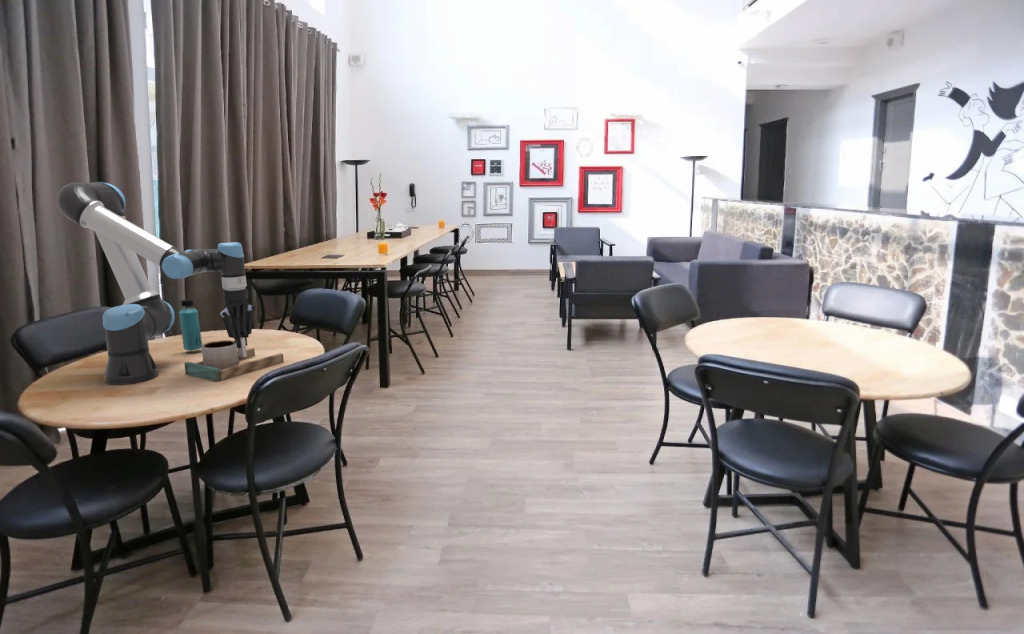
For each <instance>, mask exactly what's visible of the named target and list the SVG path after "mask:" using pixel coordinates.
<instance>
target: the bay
mask: <svg viewBox="0 0 1024 634" xmlns="http://www.w3.org/2000/svg"><path fill="white" fill-rule="evenodd" d="M255 351H256V350H255V348H254V347H250V348H246V352H247V356H246V357H240V356H238V360H239V362H240V361H244V360H248V359H251V358H254V357H253V356H255V357H256V352H255ZM250 357H251V358H250ZM247 358H248V359H247ZM243 359H244V360H243ZM284 360H285V359H284V353H281V352H280V353H276V354H272V355H269V356H265V357H262V358H258V359H255V360H251V361H247V362H243V363H241V364H240V363H239V365H237V366H233V367H230V368H226V369H222V370H220V368H216V367H211V366H207V365H203V360H200V361H197V362H192V361H185V362H184V363H183V365H184V371H185V375H187V376H191V377H196V378H200V379H204V380H209V381H213V382H217V383H218V382H222V381H225V380H228V379H230V378H235V377H238V376H241V375H244V374H249V373H251V372H252V373H253V372H255V371H258V370H261V369H264V368H268V367H271V366H274V365H278V364H282V363H284Z"/></svg>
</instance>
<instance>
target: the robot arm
mask: <svg viewBox="0 0 1024 634" xmlns="http://www.w3.org/2000/svg"><path fill="white" fill-rule="evenodd" d="M126 203H127V202H126V198H125V196H124V194H123V192H122V191H121V190H120V189H119V187H117V186H115V185H114V184H111V183H108V182H102V181H94V182H93V181H92V182H71V183H68V184H66V185H64V186H62V187H61V188H60V190H59V191H58V192H57V196H56V205H57V208H58V210H59V212H60V214H62V215H63V216H64V218H65V217H66V218H67V219H68V220H69V221H71V222H73V223H75V224H76V225H78V226H80V227H82V228H83V229H90V230H92V231H94V233H95V235H96V237H97V239H98V241H99V243H100V246H101V248H102V250H103V253H104V254H105V258H106V259H107V261H108V263H109V265H110V268H111V271H112V272H113V274H114V277H115V279H116V281H117V283H118V286H119V287H120V288H119V289H120V290H121V292H122V295H123V297H124V301H123V304H121V305H117V306H113V307H111V308H109V309H106V310H105V311H104V313H103V314H102V327H103V331H104V338H105V343H106V344H105V345H106V350H107V351H106V352H107V363H106V367H105V373H104V381H105V383H106V384H110V385H128V384H136V383H141V382H146V381H148V380H152V379H154V378H155V377H157V376H158V375H159V368H158V366H157V363H156V362H155V360H154V358H153V357H152V354H151V353H150V348H149V340H151V339H153V338H155V337H158V336H161V335H163V334H164V333H166V332H168V331H169V330H170V329H171V328H172V326H174V323H175V318H176V315H175V311H174V308H173V307H172V305H171V304H169V303H168V302H166V301H165V300H163V299H162V298H161V297H162V296H161V295H160V293H159V292H157V291H155V290H153V289H152V287H151V285H150V282H149V280H148V277H147V275H146V273H145V271H144V269H143V266H142V264H141V261H140V259H139V257H138V255H139V256H141V257H143V258H144V259H146V260H148V261H150V262H151V263H152V264H154V265H157V266H158V267H160V268H162V271H163V273H164V274H165V276H167V277H168V278H170V279H174V280H179V279H180V280H181V279H185V278H188V277H190V276H195V275H198V274H201V273H202V274H203V273H207V272H209V273H211V272H220V275H221V283H222V284H221V285H222V289H224V290H223V291H222V292H223V300H224V303H225V305H224V309H223V310H222V311H219V312H218V315H219V317H220V318H221V319H222V321H223V324H224V328H225V330H226V332H227V333H226V334H227V336H228V338H232V339H233V340H234V341H235V342H236V343H237V352H238V356H240V357H246V356H247V352H246V349H247V346H248V338H249V337H250V335H251V334H252V333H253V331H252V330H253V323H254V322H253V321H254V313H255V311H256V305H255V306H254V305H251V304H250V303H249V301H248V299H249V291H248V288H247V286H248V284H247V276H246V268H245V267H246V266H245V255H244V249H243V246H242V243H240V242H237V241H236V242H235V241H233V242H231V241H230V242H221V243H218V245H217V248H213V249H211V248H210V249H209V248H207V249H205V248H204V249H203V248H201V249H198V248H194V249H187V250H184V251H182V250H180V249H179V248H177V247H175V246H173V245H171V244H170V243H168V242H166V241H164V240H163V239H161V238H159V237H158V236H155V235H154V234H152V233H150V232H148V231H146V230H145V229H143V228H141V227H140V226H139V225H136V224H135V223H133V222H131V221H129V220H127V219H126V215H125V212H124V211H125V210H126V206H127V205H126Z"/></svg>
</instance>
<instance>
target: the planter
mask: <svg viewBox="0 0 1024 634" xmlns="http://www.w3.org/2000/svg"><path fill="white" fill-rule="evenodd" d="M201 355H202V361H203V365H207V366H211V367H216V368H220V370H222V369H226V368H230V367H233V366H237V365H240V361H239V360H238V349H237V343H236V342H235V340H230V339H229V340H227V339H226V340H216V341H215V340H214V341H210V342H206V343H204V344H203V343H202V348H201Z"/></svg>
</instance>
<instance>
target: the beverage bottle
mask: <svg viewBox="0 0 1024 634" xmlns="http://www.w3.org/2000/svg"><path fill="white" fill-rule="evenodd" d="M180 303H181V304H180V305H181V307H184V308H182V309H181V310H180V311H179V312H178V314H179V320H180V327H181V328H180V329H181V330H180V331H181V332H180V333H181V339H182V344H183V346H182V347H183V349H184V350H185V351H196V350H200V349H202V345H203V341H202V339H203V338H202V334H201V333H202V332H201V328H200V327H201V325H200V319H199V313H198V312H199V311H198V309H196V308H194V307H192V306H194V305H195V304H194V300H193V299H191V298H190V299H183V300H181V301H180Z"/></svg>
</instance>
